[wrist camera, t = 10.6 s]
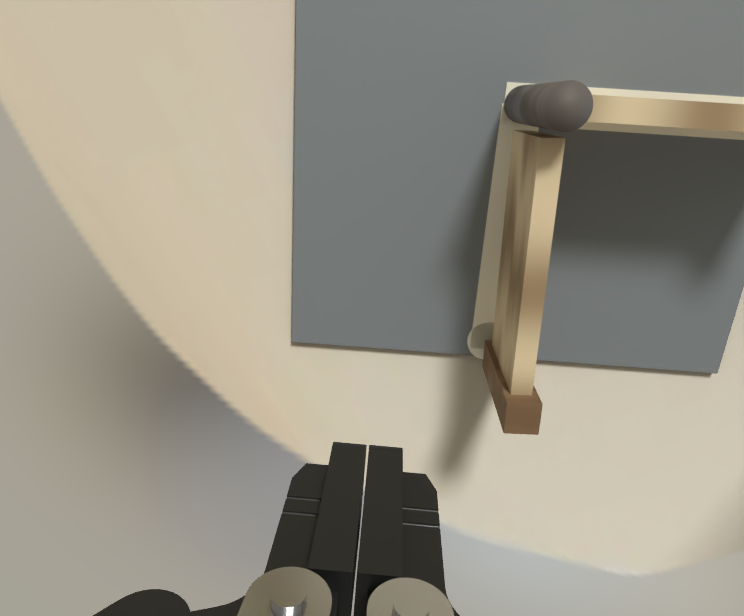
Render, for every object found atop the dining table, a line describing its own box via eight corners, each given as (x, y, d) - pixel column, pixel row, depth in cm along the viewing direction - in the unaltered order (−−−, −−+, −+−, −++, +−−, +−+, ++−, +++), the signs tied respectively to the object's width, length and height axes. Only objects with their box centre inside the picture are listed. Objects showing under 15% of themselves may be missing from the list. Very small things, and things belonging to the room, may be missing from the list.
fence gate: (504, 129, 29) (537, 138, 22) (536, 130, 29) (579, 139, 22) (482, 365, 33) (503, 433, 27) (510, 366, 33) (538, 434, 27)
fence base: (792, 102, 28) (945, 103, 20) (781, 140, 29) (925, 155, 21) (506, 84, 28) (547, 78, 21) (501, 122, 29) (539, 130, 21)
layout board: (835, -38, 26) (843, -40, 26) (712, 373, 34) (717, 377, 33) (298, -69, 27) (296, -72, 26) (292, 342, 34) (291, 345, 34)
